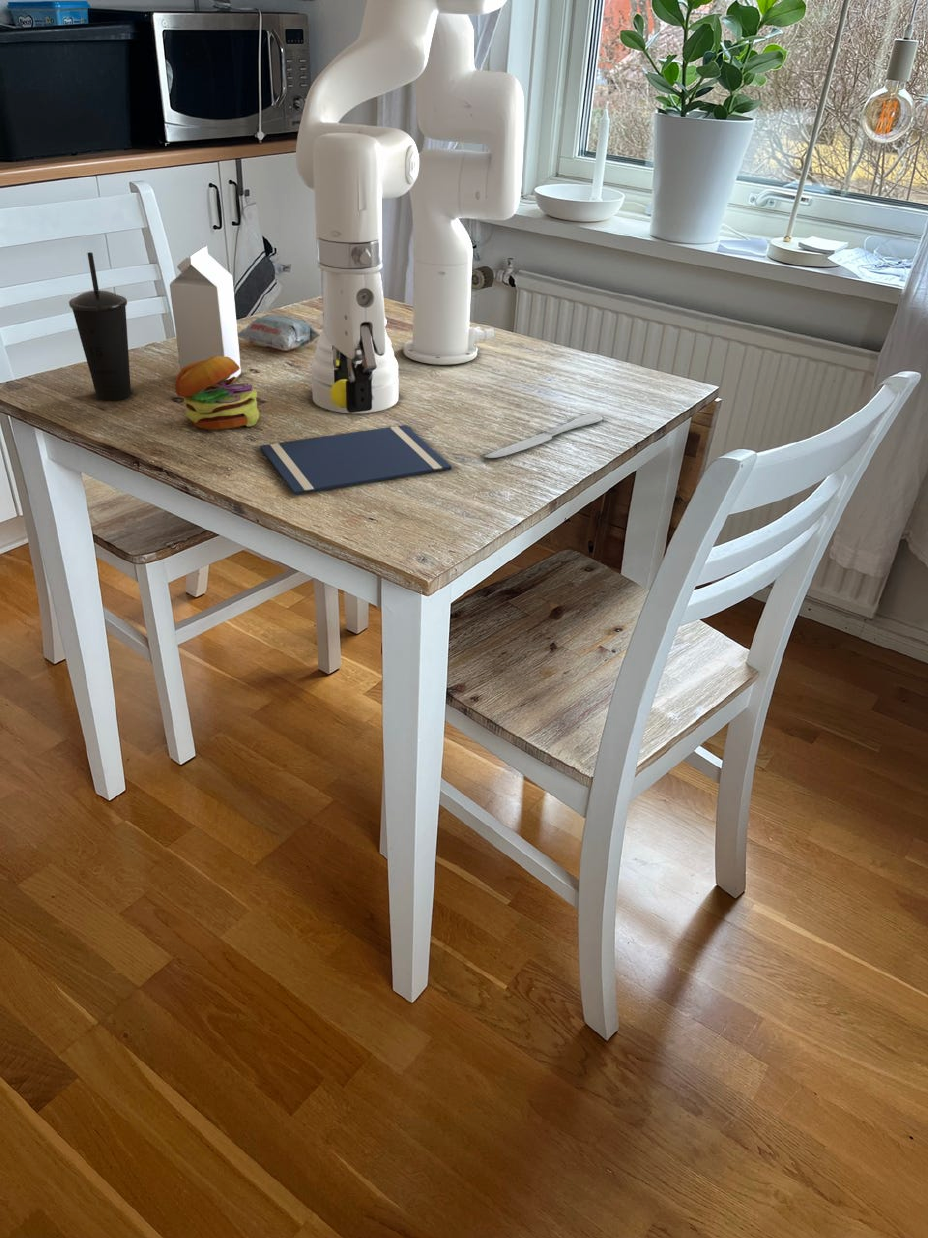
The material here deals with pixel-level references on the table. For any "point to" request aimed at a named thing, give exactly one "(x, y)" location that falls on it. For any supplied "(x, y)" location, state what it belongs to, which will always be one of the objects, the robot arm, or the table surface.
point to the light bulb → (340, 393)
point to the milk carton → (204, 311)
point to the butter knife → (546, 435)
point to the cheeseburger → (216, 395)
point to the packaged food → (279, 332)
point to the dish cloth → (352, 459)
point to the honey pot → (382, 375)
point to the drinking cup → (104, 339)
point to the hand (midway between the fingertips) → (353, 403)
